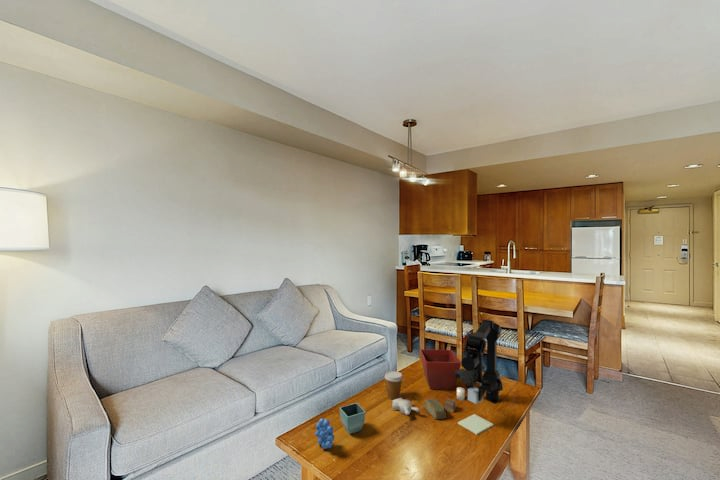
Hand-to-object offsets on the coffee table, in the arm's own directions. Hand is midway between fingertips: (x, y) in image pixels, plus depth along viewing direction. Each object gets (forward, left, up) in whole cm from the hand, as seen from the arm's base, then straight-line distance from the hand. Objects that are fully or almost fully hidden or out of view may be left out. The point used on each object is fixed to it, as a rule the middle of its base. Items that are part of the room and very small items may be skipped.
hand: (475, 398), depth 147 cm
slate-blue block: (0, 0, -1) cm, 1 cm away
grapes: (+63, -23, -12) cm, 69 cm away
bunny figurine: (+19, -26, -12) cm, 34 cm away
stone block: (+8, -16, -12) cm, 22 cm away
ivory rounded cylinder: (-14, -18, -12) cm, 26 cm away
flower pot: (+48, -27, -12) cm, 57 cm away
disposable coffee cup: (+14, -39, -12) cm, 43 cm away
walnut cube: (-1, -14, -12) cm, 19 cm away
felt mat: (0, +1, -12) cm, 12 cm away
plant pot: (-17, -35, -12) cm, 41 cm away
